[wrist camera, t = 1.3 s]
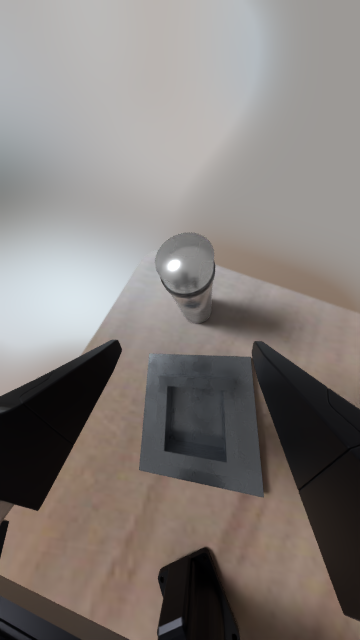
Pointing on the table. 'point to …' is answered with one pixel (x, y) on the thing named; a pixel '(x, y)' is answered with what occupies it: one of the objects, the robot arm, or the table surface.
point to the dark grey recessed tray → (202, 422)
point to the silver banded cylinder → (188, 273)
